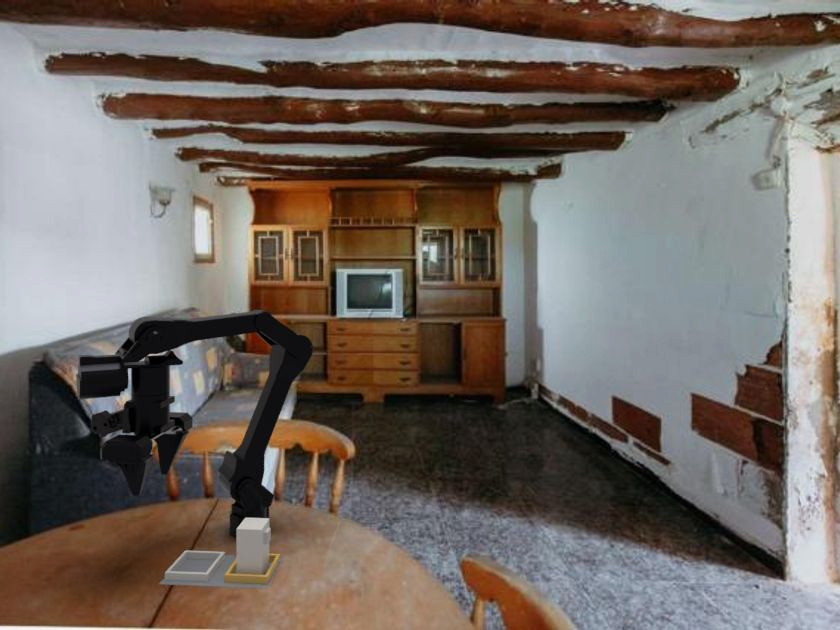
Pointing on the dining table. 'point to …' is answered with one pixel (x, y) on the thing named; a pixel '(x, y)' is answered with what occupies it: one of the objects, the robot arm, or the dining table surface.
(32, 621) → the dining table surface
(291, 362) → the robot arm
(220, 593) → the dining table surface
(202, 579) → the socket panel
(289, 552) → the dining table surface
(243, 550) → the plug
